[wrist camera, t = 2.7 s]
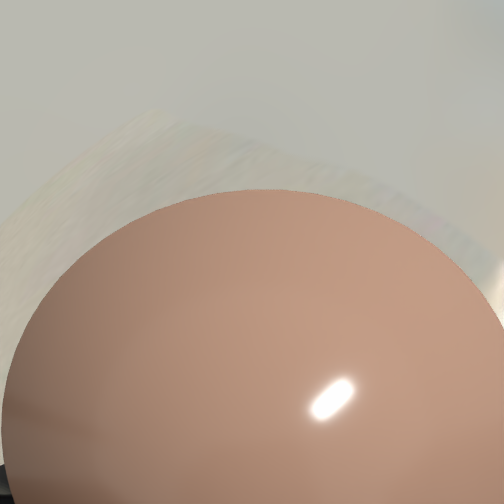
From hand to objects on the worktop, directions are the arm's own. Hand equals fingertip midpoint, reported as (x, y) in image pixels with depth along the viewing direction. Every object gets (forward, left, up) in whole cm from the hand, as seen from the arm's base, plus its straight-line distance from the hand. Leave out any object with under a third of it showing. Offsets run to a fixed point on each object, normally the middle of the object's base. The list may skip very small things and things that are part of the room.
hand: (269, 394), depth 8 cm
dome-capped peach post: (-1, -1, -7) cm, 7 cm away
